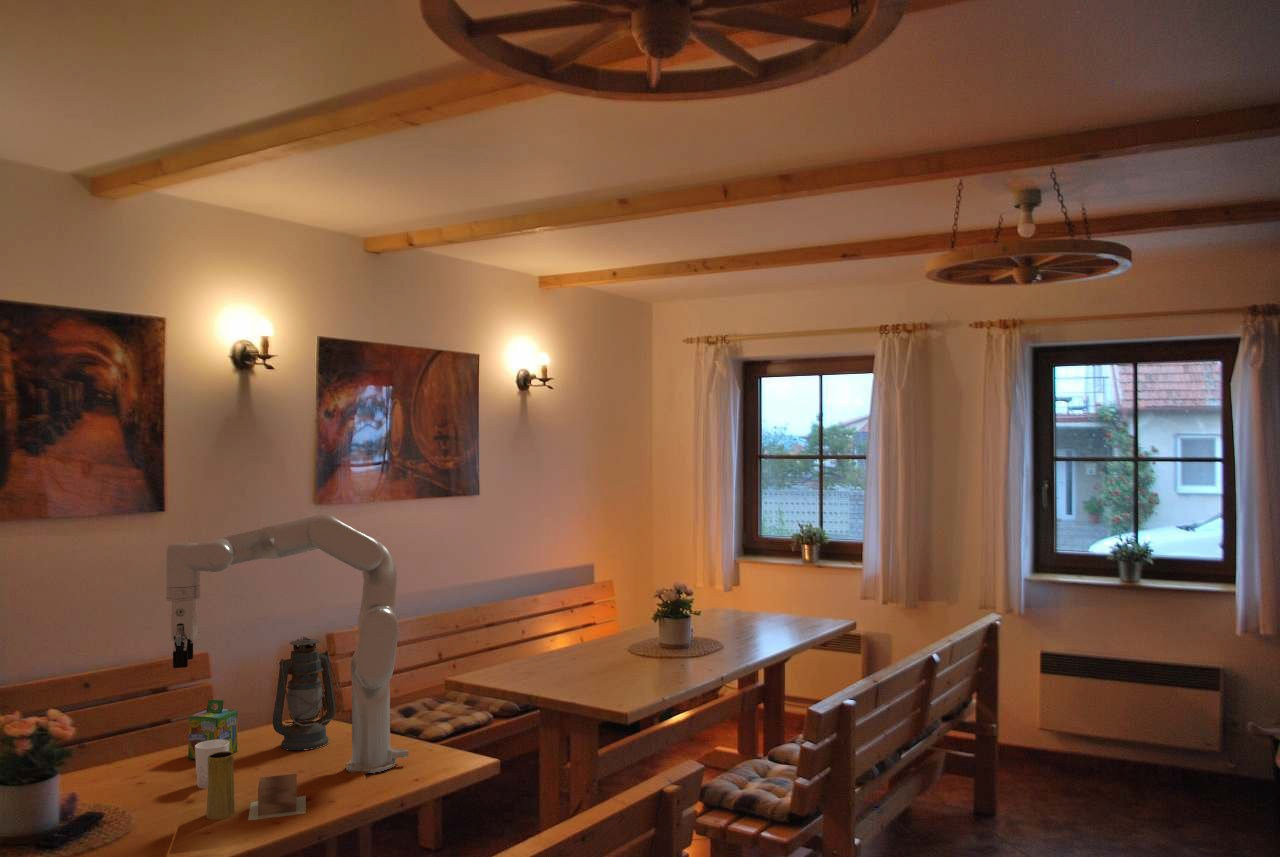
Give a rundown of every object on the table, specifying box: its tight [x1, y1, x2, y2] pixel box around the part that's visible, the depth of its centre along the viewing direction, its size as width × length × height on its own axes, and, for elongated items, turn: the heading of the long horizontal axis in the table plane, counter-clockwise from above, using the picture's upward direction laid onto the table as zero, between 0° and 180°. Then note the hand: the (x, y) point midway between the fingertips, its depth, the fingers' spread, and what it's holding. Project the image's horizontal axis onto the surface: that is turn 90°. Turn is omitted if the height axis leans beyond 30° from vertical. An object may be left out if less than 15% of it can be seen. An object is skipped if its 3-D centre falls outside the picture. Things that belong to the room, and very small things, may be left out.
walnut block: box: [257, 773, 298, 816], centre depth 224 cm, size 8×8×6 cm
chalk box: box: [187, 699, 239, 760], centre depth 267 cm, size 9×9×15 cm
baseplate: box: [247, 795, 307, 821], centre depth 224 cm, size 12×12×1 cm
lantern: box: [272, 636, 343, 750], centre depth 276 cm, size 19×14×30 cm
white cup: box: [194, 739, 230, 790], centre depth 243 cm, size 8×8×10 cm
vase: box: [205, 751, 236, 820], centre depth 220 cm, size 6×6×14 cm
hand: (183, 663), depth 240 cm, fingers open, 9 cm apart
